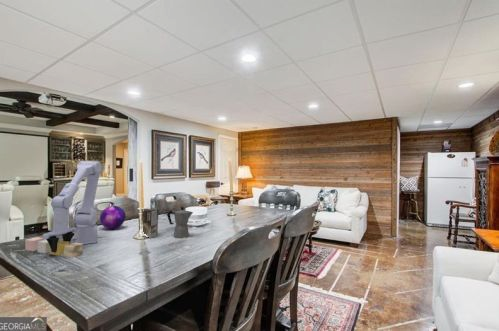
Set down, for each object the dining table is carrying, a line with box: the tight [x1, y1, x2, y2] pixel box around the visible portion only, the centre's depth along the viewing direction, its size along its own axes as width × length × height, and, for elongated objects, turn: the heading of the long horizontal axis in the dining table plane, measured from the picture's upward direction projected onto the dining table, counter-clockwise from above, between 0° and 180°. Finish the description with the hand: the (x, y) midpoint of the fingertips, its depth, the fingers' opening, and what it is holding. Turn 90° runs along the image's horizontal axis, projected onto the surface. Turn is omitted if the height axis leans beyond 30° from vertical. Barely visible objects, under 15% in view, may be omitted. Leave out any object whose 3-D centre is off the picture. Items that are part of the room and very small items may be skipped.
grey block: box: [36, 239, 51, 254], centre depth 120 cm, size 5×5×5 cm
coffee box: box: [138, 208, 159, 239], centre depth 151 cm, size 9×6×16 cm
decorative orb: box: [99, 205, 127, 230], centre depth 166 cm, size 15×15×15 cm
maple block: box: [63, 242, 84, 259], centre depth 116 cm, size 5×5×5 cm
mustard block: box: [49, 240, 70, 256], centre depth 118 cm, size 5×5×5 cm
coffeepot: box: [166, 206, 194, 239], centre depth 153 cm, size 15×9×18 cm, turn 103°
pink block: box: [24, 236, 45, 252], centre depth 122 cm, size 5×5×5 cm
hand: (59, 250), depth 118 cm, fingers closed on mustard block, 5 cm apart
